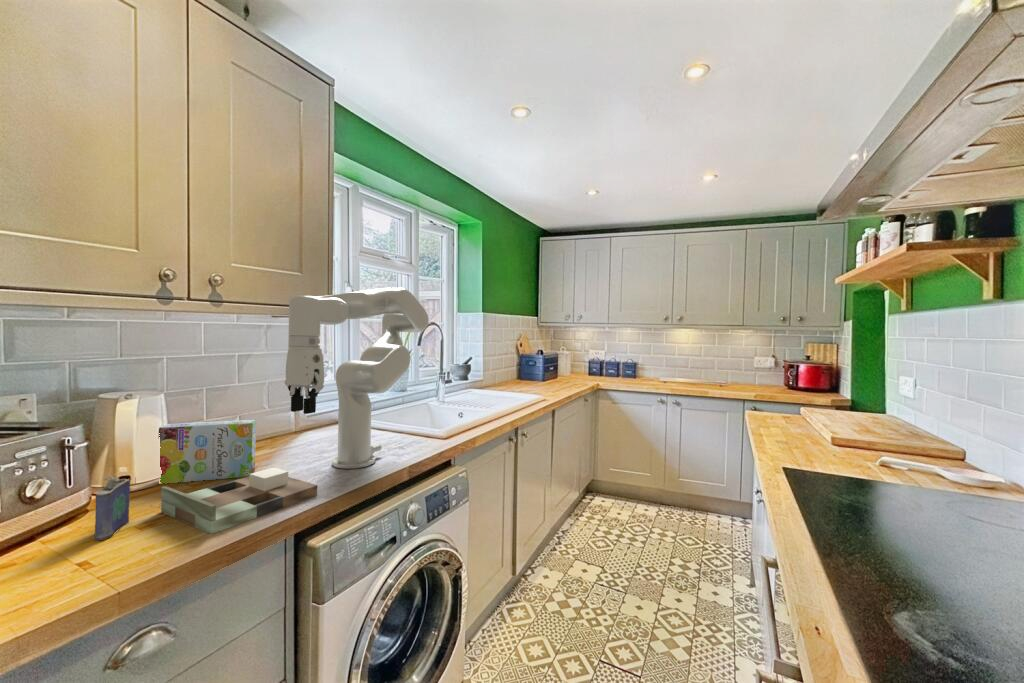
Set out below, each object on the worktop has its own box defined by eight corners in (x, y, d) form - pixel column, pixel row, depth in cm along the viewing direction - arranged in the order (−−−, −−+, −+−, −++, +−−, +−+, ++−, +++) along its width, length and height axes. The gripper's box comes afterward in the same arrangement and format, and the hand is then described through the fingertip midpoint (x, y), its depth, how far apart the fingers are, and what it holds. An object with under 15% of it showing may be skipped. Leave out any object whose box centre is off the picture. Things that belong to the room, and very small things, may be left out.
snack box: (255, 471, 122) (256, 418, 122) (251, 477, 117) (252, 422, 117) (165, 478, 114) (165, 422, 114) (156, 485, 109) (157, 427, 109)
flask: (108, 540, 81) (108, 484, 81) (88, 542, 80) (88, 485, 80) (132, 520, 90) (132, 469, 89) (114, 522, 89) (115, 470, 88)
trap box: (267, 480, 115) (268, 460, 115) (317, 495, 105) (317, 473, 105) (161, 512, 94) (161, 487, 94) (211, 534, 84) (211, 506, 84)
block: (273, 479, 109) (273, 467, 109) (288, 483, 106) (288, 471, 106) (249, 486, 103) (249, 473, 103) (264, 491, 101) (264, 478, 101)
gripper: (338, 343, 111) (337, 413, 112) (296, 341, 119) (295, 406, 120) (313, 344, 105) (311, 418, 105) (270, 341, 113) (269, 410, 113)
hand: (303, 411), depth 112 cm, fingers open, 4 cm apart
